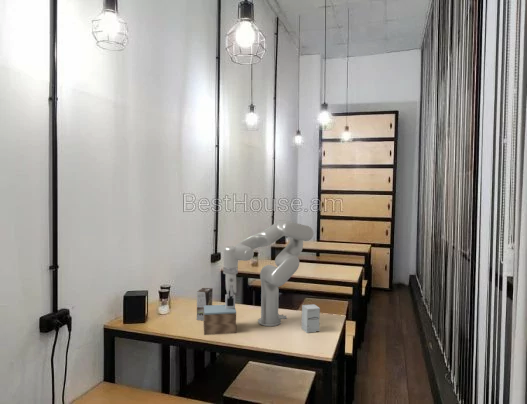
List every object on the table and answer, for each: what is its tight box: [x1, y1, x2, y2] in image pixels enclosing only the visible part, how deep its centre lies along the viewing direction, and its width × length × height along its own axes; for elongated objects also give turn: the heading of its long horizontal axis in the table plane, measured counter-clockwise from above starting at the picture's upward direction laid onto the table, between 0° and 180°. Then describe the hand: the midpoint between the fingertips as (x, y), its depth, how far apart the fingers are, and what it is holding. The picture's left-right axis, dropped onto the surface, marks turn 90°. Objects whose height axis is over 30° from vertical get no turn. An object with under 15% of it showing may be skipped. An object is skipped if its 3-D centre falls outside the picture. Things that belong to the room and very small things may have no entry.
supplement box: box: [301, 303, 321, 334], centre depth 192 cm, size 7×7×13 cm
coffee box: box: [196, 287, 213, 322], centre depth 208 cm, size 9×6×16 cm
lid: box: [204, 293, 237, 315], centre depth 191 cm, size 16×12×8 cm
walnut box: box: [203, 312, 237, 336], centre depth 191 cm, size 16×12×10 cm
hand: (230, 304), depth 192 cm, fingers closed
